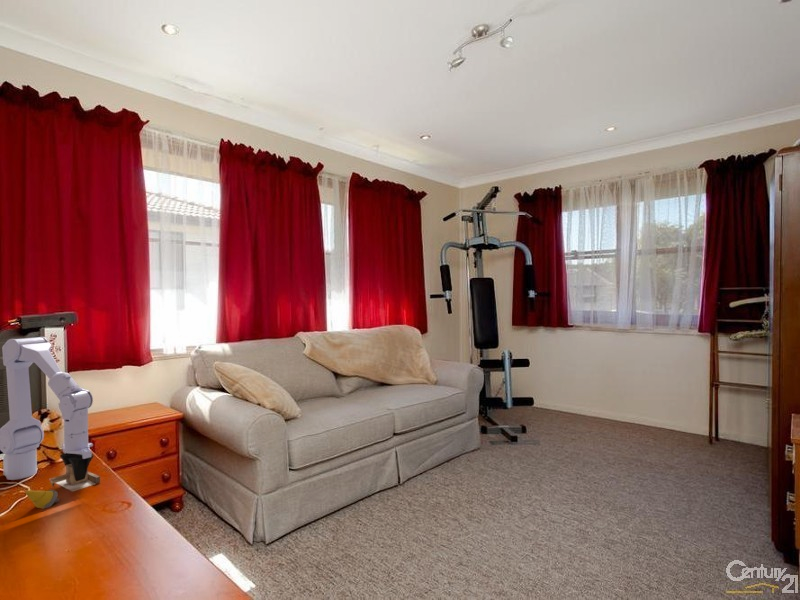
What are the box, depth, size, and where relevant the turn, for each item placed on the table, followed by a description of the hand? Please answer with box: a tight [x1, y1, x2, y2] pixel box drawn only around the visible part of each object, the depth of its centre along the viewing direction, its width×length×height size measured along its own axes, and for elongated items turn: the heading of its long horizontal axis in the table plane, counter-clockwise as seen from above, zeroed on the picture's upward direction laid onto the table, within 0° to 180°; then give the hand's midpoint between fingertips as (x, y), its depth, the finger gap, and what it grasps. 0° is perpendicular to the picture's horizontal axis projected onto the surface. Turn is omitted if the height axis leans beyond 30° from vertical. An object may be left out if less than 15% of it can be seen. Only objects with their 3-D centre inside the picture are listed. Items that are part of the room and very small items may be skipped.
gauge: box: [49, 464, 89, 487], centre depth 128 cm, size 4×8×5 cm, turn 147°
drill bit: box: [23, 489, 61, 512], centre depth 114 cm, size 5×5×10 cm
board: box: [55, 471, 101, 493], centre depth 130 cm, size 16×7×3 cm, turn 57°
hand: (76, 478), depth 130 cm, fingers closed on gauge, 4 cm apart
